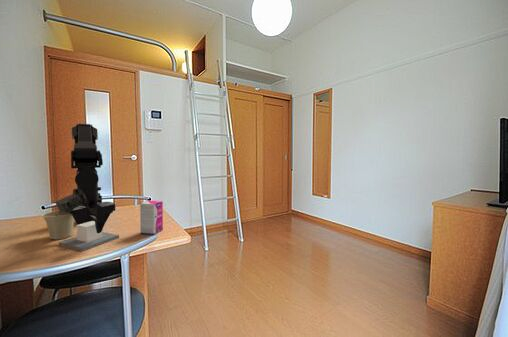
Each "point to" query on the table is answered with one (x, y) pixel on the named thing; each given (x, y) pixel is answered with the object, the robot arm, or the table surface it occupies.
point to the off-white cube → (87, 232)
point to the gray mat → (84, 246)
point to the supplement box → (151, 217)
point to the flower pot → (59, 224)
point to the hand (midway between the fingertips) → (89, 231)
